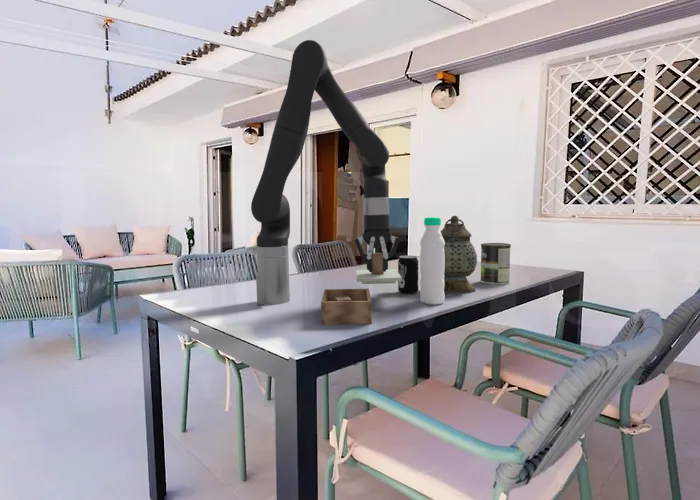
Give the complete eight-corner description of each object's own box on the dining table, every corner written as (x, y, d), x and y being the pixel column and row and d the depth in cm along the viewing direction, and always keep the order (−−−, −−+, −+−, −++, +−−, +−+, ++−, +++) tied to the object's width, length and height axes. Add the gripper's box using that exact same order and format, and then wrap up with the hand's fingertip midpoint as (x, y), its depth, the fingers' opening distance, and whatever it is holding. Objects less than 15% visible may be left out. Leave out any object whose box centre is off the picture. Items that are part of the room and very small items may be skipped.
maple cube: (338, 313, 112) (338, 300, 111) (335, 310, 115) (334, 297, 115) (351, 312, 113) (351, 299, 112) (348, 309, 116) (347, 296, 116)
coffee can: (482, 284, 152) (483, 245, 150) (478, 279, 162) (478, 242, 160) (513, 285, 150) (514, 245, 149) (506, 280, 160) (507, 242, 159)
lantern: (485, 290, 141) (486, 215, 139) (456, 296, 133) (456, 216, 131) (453, 284, 153) (453, 214, 150) (424, 289, 145) (424, 215, 142)
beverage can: (417, 294, 136) (417, 257, 135) (397, 294, 138) (397, 257, 136) (418, 290, 143) (418, 255, 142) (399, 290, 144) (399, 255, 143)
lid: (356, 285, 118) (356, 257, 117) (356, 275, 135) (355, 251, 134) (402, 284, 118) (401, 256, 117) (395, 274, 135) (395, 250, 134)
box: (321, 327, 101) (320, 302, 101) (325, 310, 117) (324, 289, 117) (371, 326, 101) (371, 301, 101) (368, 310, 117) (368, 288, 117)
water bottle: (439, 306, 120) (439, 217, 118) (416, 303, 124) (416, 217, 122) (447, 301, 126) (448, 216, 124) (425, 298, 130) (425, 217, 128)
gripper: (352, 214, 121) (353, 274, 123) (402, 213, 121) (402, 273, 122) (352, 213, 128) (353, 270, 130) (399, 212, 128) (399, 269, 130)
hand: (377, 271), depth 126 cm, fingers closed on lid, 3 cm apart
